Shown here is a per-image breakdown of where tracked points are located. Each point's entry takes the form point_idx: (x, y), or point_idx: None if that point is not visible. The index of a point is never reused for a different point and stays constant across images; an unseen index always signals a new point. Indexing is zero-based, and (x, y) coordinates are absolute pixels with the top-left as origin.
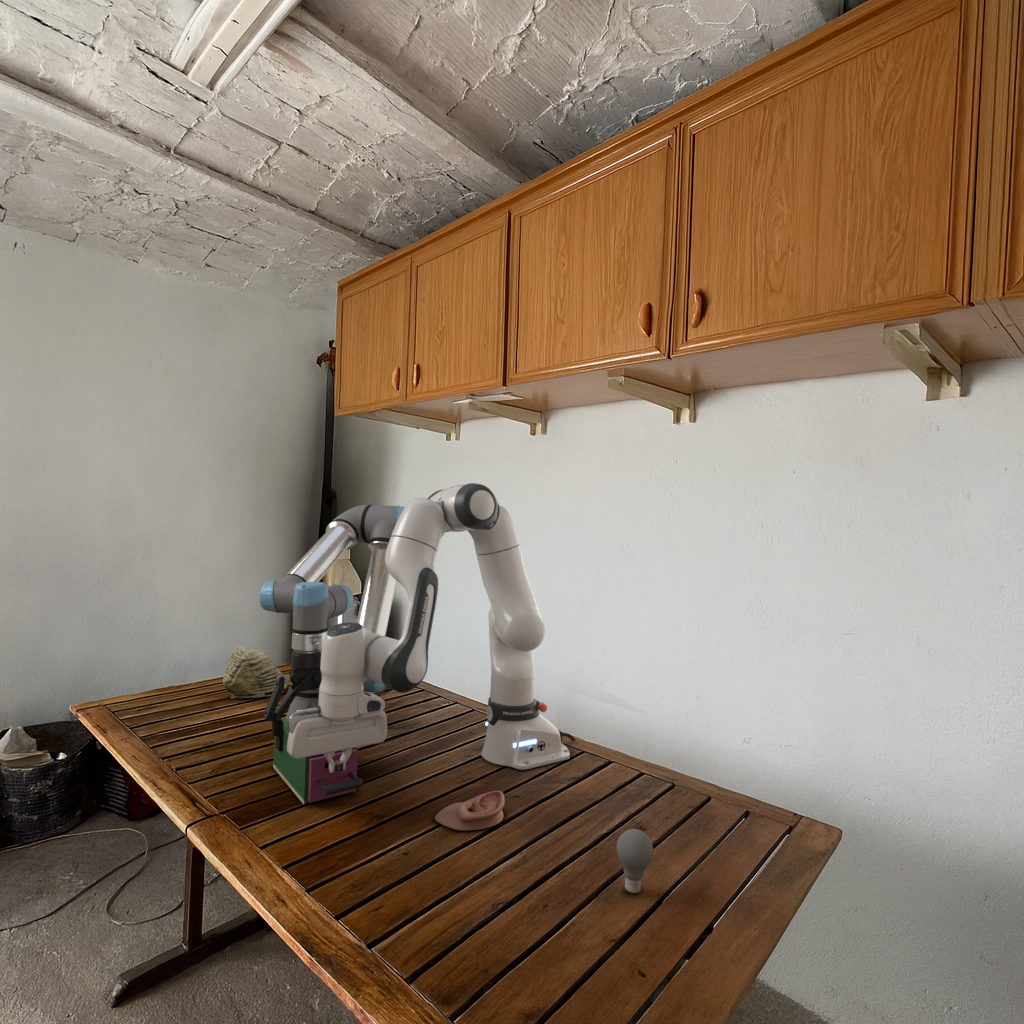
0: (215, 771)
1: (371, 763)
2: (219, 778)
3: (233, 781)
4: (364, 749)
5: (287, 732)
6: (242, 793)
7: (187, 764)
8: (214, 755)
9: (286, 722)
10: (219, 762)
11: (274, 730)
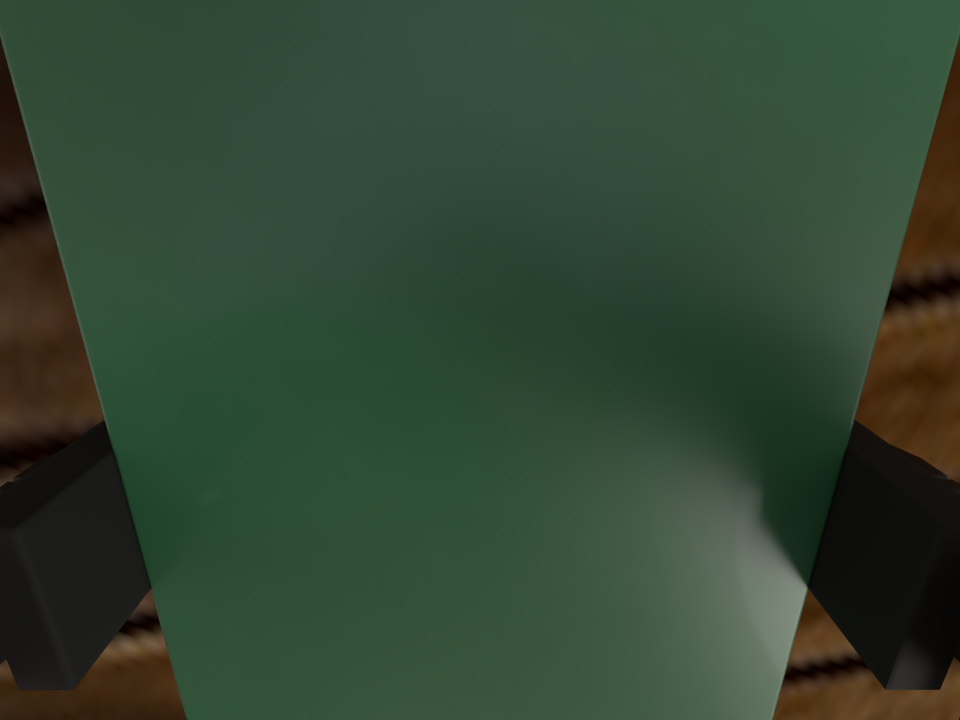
0: None
1: (17, 185)
2: (928, 455)
3: (892, 381)
4: (33, 428)
5: (855, 332)
6: (944, 184)
7: (952, 672)
8: (804, 707)
9: (674, 661)
10: (825, 630)
11: (953, 484)
